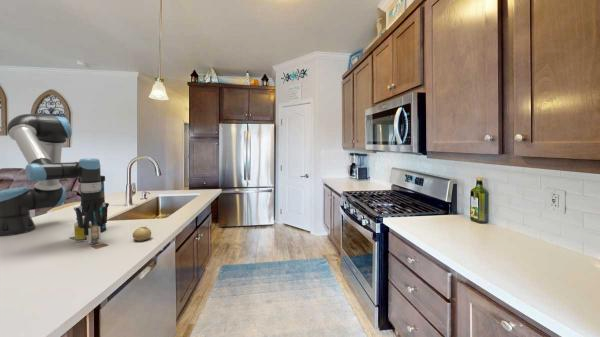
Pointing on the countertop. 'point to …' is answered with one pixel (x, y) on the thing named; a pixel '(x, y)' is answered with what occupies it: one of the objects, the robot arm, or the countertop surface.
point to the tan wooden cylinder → (94, 233)
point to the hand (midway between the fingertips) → (93, 240)
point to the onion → (141, 234)
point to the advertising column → (92, 215)
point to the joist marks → (94, 245)
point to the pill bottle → (80, 232)
